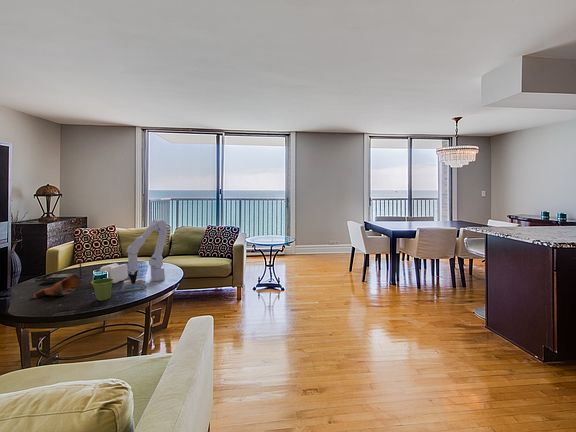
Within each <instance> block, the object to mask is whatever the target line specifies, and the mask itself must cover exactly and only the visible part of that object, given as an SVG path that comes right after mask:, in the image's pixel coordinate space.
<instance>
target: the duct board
mask: <svg viewBox="0 0 576 432" xmlns="http://www.w3.org/2000/svg"><path fill="white" fill-rule="evenodd" d="M143 282H144V283H142V284H134V285H124V282H122V286H121V289H120V293H127V292H136V291H144V290H145V287H146V280H143Z"/></svg>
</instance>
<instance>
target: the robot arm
mask: <svg viewBox="0 0 576 432" xmlns="http://www.w3.org/2000/svg"><path fill="white" fill-rule="evenodd" d="M167 226H168V224H167V222H166V221H165V220H163V219H156V218H155V219H153V220H152V221H151V222H150V224H149V225H148V226H147V228H146V229H145V231H143V233H142V235H139V236H137V237H135V240H134V241H133V242H132V243H130V245H128V246H127V247H126V250H125V251H126V253H127V258H128V259H127V262H128V263H127V266H128V269H127V271H128V278H130V280H131V283H132V284H135V282H136V280H137V276H138V272H139V265H138V262H139V261H138V253H139V252H140V249H141V247H142V246H143V245H144V244H145V242H146V239H147V238H148V237H149V236H150V235H151V234H152V233H153V231H157V232H158V233H159V234H158V237H157V241H156V246H155V248H154V252H153V254H152V255H151V258H150V259H149V261H148V264H149V266H150V282H151V283H152V282H161V281H165V280H166V279H165V278H166V275H165V266H163V265H164V261H163V259H164V258H163V252H164V247H165V244H166V240H167V236H168V228H167Z"/></svg>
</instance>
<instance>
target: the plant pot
mask: <svg viewBox="0 0 576 432" xmlns="http://www.w3.org/2000/svg"><path fill="white" fill-rule="evenodd" d="M113 280H114V279H112V278H103V279H100V278H99V279H95V280H91V284H92V287H93V290H94V294H95V297H96V300H97V301H100V302H101V301H106V300H109V299H111V296H112V288H113V287H112V286H113V284H114V283H113Z"/></svg>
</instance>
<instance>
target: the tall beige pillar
mask: <svg viewBox="0 0 576 432" xmlns="http://www.w3.org/2000/svg"><path fill="white" fill-rule="evenodd" d="M143 281H144V278H136V282H135V284H142V283H144V282H143ZM123 283H124V285H134V284H132V283H131V279H130V280H129V279H128V280H123Z"/></svg>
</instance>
